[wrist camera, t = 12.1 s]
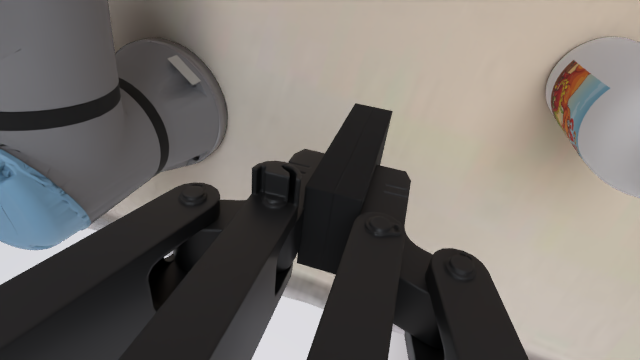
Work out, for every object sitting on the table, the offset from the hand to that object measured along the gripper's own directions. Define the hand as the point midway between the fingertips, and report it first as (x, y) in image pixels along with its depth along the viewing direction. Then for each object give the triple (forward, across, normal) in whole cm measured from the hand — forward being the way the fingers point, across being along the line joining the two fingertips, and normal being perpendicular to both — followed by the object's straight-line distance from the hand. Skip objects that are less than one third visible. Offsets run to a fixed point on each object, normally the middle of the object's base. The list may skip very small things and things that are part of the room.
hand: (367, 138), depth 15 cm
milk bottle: (+23, -16, +1) cm, 28 cm away
